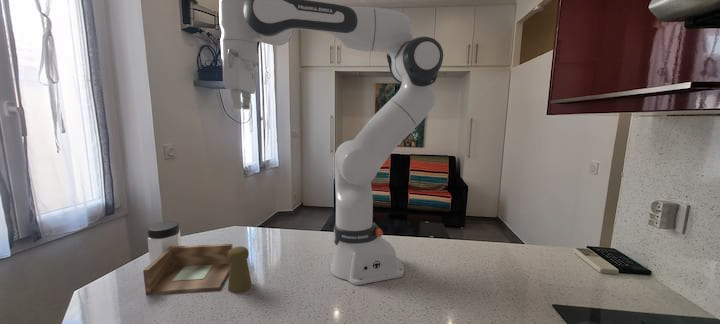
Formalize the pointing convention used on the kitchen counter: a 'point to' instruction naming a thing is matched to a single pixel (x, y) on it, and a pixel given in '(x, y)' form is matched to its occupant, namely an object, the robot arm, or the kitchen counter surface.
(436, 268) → the kitchen counter surface
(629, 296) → the kitchen counter surface
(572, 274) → the kitchen counter surface
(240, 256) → the olive pepper mill
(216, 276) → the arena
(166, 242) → the jar
